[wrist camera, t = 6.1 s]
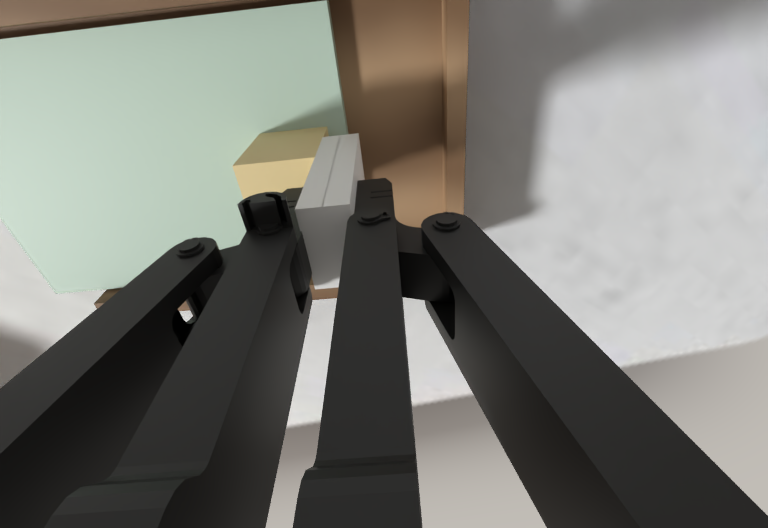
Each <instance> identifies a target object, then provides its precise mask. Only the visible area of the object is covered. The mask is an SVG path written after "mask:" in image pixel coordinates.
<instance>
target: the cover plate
mask: <svg viewBox="0 0 768 528" xmlns="http://www.w3.org/2000/svg"><path fill="white" fill-rule="evenodd" d="M347 134H348V127H347V120H346V114H345V107H344V100H343V93H342V86H341V80H340V73H339V66H338V59H337V53H336V46H335V39H334V32H333V25H332V19H331V12H330V5H329V0H325V1H316V2H308V3H300V4H291V5H283V6H274V7H266V8H258V9H249V10H241V11H232V12H224V13H216V14H207V15H199V16H190V17H182V18H174V19H165V20H157V21H148V22H140V23H132V24H123V25H115V26H106V27H98V28H90V29H81V30H73V31H64V32H56V33H48V34H39V35H31V36H23V37H14V38H6V39H0V219H1V220H2V222H3V223H4V224H5V226H6V227H7V229H8V230H9V231H10V233H11V234H12V235H13V237H14V238H15V239H16V241H17V242H18V243H19V245H20V246H21V247H22V249H23V250H24V251H25V253H26V254H27V256H28V257H29V258H30V260H31V261H32V262H33V264H34V265H35V266H36V268H37V269H38V270H39V272H40V273H41V274H42V276H43V277H44V278H45V280H46V281H47V283H48V284H49V285H50V287H51V288H52V289H53V291H54V292H55V293H56V294H61V293H71V292H82V291H93V290H104V289H114V288H123V287H124V286H126V285H127V284H128V283H129V282H130V281H132V280H133V279H134V278H135V277H137V276H138V275H139V274H140V273H141V272H143V271H144V270H145V269H146V268H147V267H149V266H150V265H151V264H152V263H154V262H155V261H156V260H157V259H158V258H160V257H161V256H162V255H163V254H164V253H166V252H167V251H168V250H169V249H171V248H172V247H174V246H175V245H177V244H179V243H181V242H183V241H184V240H187V239H192V238H195V237H198V238H200V237H207V238H212V239H214V240H215V241H216V243H217V245H218V248H219V250H221V249H225V248H229V247H232V246H236V245H239V244H240V242H241V240H242V239H243V237H244V235H245V233H246V229H245V226H244V223H243V220H242V217H241V214H240V211H239V208H238V205H237V204H238V203H239V202H240V201H242V200H243V199H245V198H247V197H249V196H252V195H255V194H258V193H264V192H279V193H282V192H284V191H285V190H286V189H290V188H300V187H304V184H305V181H306V179H307V176H308V174H309V171H310V168H311V166H312V163H313V161H314V158H315V155H316V153H317V150H318V148H319V145H320V142H321V140H322V137H328V136H337V135H347Z"/></svg>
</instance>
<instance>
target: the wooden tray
mask: <svg viewBox="0 0 768 528" xmlns="http://www.w3.org/2000/svg"><path fill="white" fill-rule="evenodd" d="M316 1H325V0H0V39H6V38H14V37H23V36H31V35H39V34H48V33H56V32H64V31H73V30H81V29H90V28H98V27H106V26H115V25H123V24H132V23H140V22H148V21H157V20H165V19H174V18H182V17H190V16H199V15H207V14H216V13H224V12H232V11H241V10H249V9H258V8H266V7H274V6H283V5H291V4H300V3H308V2H316ZM469 1H470V0H329V5H330V12H331V19H332V25H333V32H334V39H335V46H336V53H337V59H338V66H339V73H340V80H341V86H342V93H343V100H344V107H345V114H346V120H347V127H348V134H356V133H359V140H360V148H361V155H362V163H363V170H364V178H365V180H368V179H378V178H386V179H388V180H389V181H390V182H391V183H392V189H393V199H394V210H395V217H396V219H397V220H398V222H400V223H402V224H404V225H407V226H411V227H419V228H421V224H422V222H423V220H424V219H426V218H427V217H429V216H431V215H434V214H437V213H443V212H450V213H451V212H455V213H458V214H462V215H464V181H465V145H466V109H467V73H468V37H469ZM309 286H310V289H311V293H312V300H318V299H329V298H337V295H338V288H339V287H337V288H326V289H315V287H314V284H313V280H312V276H311V280H310V284H309ZM121 289H122V288H114V289H107V290H106V291H105V292H104V293H103V294H102V296H101V297H100V298H99V299H98V300H97V301H96V302H95V303H94V305H95V306H96V308H97V309H98V308H99V307H100V306H101V305H103V304H104V303H105V302H106V301H107V300H109V299H110V298H111V297H112V296H113V295H115V294H116V293H117V292H118V291H120V290H121ZM178 310H179V311H186V310H190V309H189V307H188V305H187V303H186V301H185V302H184V303H183V304H182V305H181V306H180V307H179V308H178Z"/></svg>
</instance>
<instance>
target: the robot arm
mask: <svg viewBox="0 0 768 528" xmlns="http://www.w3.org/2000/svg"><path fill="white" fill-rule="evenodd" d="M237 205H238V208H239V211H240V214H241V217H242V220H243V223H244V226H245V229H246V233H245V235H244V237H243V239H242V240H241V242H240V244H239V245H236V246H232V247H229V248H225V249H221V250H219V248H218V245H217V243H216V241H215V240H214V239H212V238H207V237H200V238H198V237H195V238H192V239H187V240H184V241H183V242H181V243H179V244H177V245H175V246H174V247H172V248H171V249H169V250H168V251H167V252H166V253H164V254H163V255H162V256H161V257H160V258H158V259H157V260H156V261H155V262H154V263H152V264H151V265H150V266H149V267H147V268H146V269H145V270H144V271H143V272H141V273H140V274H139V275H138V276H137V277H135V278H134V279H133V280H132V281H130V282H129V283H128V284H127V285H126V286H124V287H123V288H122V289H121V290H120V291H118V292H117V293H116V294H115V295H113V296H112V297H111V298H110V299H109V300H107V301H106V302H105V303H104V304H103V305H101V306H100V307H99V308H98V309H96V310H95V311H94V312H93V313H92V314H90V315H89V316H88V317H87V318H86V319H84V320H83V321H82V322H81V323H79V324H78V325H77V326H76V327H75V328H73V329H72V330H71V331H70V332H69V333H67V334H66V335H65V336H64V337H62V338H61V339H60V340H59V341H58V342H56V343H55V344H54V345H53V346H52V347H50V348H49V349H48V350H47V351H45V352H44V353H43V354H42V355H41V356H39V357H38V358H37V359H36V360H35V361H33V362H32V363H31V364H30V365H28V366H27V367H26V368H25V369H24V370H22V371H21V372H20V373H19V374H18V375H16V376H15V377H14V378H13V379H11V380H10V381H9V382H8V383H7V384H5V385H4V386H3V387H2V388H1V389H0V528H265V527H266V522H267V517H268V512H269V507H270V503H271V498H272V493H273V488H274V483H275V478H276V473H277V469H278V464H279V459H280V454H281V449H282V445H283V440H284V435H285V430H286V425H287V421H288V416H289V411H290V406H291V401H292V396H293V392H294V387H295V382H296V377H297V372H298V367H299V363H300V358H301V353H302V348H303V343H304V338H305V334H306V329H307V324H308V319H309V314H310V309H311V305H312V293H311V289H310V286H309V284H310V280H311V276H312V280H313V284H314V287H315V289H326V288H337V287H339V288H338V295H337V303H336V311H335V318H334V326H333V334H332V341H331V349H330V356H329V364H328V372H327V379H326V387H325V395H324V402H323V410H322V417H321V425H320V433H319V440H318V448H317V455H316V460H315V463H314V466H313V467H311V468H309V469H307V470H306V471H305V473H304V476H303V478H302V480H301V485H300V489H299V494H298V498H297V504H296V511H295V517H294V523H293V528H422V517H421V506H420V494H419V483H418V472H417V460H416V449H415V437H414V426H413V414H412V403H411V391H410V380H409V368H408V357H407V345H406V334H405V322H404V310H403V299H402V297H406V298H413V299H420V300H425V305H426V308H427V310H428V312H429V314H430V316H431V318H432V319H433V321H434V323H435V325H436V327H437V328H438V330H439V332H440V334H441V336H442V338H443V339H444V341H445V343H446V345H447V347H448V349H449V350H450V352H451V354H452V356H453V358H454V359H455V361H456V363H457V365H458V367H459V369H460V370H461V372H462V374H463V376H464V378H465V379H466V381H467V383H468V385H469V387H470V389H471V390H472V392H473V394H474V396H475V398H476V399H477V401H478V403H479V405H480V407H481V408H482V410H483V412H484V414H485V416H486V418H487V419H488V421H489V423H490V425H491V427H492V429H493V430H494V432H495V434H496V436H497V437H498V439H499V441H500V443H501V445H502V446H503V448H504V450H505V452H506V454H507V456H508V458H509V459H510V461H511V463H512V465H513V467H514V469H515V470H516V472H517V474H518V476H519V478H520V480H521V481H522V483H523V485H524V487H525V489H526V490H527V492H528V494H529V496H530V498H531V500H532V501H533V503H534V505H535V507H536V508H537V510H538V512H539V514H540V516H541V517H542V519H543V521H544V523H545V525H546V527H547V528H768V516H767V515H766V514H765V513H764V512H763V511H762V510H761V509H760V508H759V507H758V506H757V505H756V504H755V503H754V502H753V501H752V500H751V499H750V498H749V497H748V496H747V495H746V494H745V493H744V492H743V491H742V490H741V489H740V488H739V487H738V486H737V485H736V484H735V483H734V482H733V481H732V480H731V479H730V478H729V477H728V476H727V475H726V474H725V473H724V472H723V471H722V470H721V469H720V468H719V467H718V466H717V465H716V464H715V463H714V462H713V461H712V460H711V459H710V458H709V457H708V456H707V455H706V454H705V453H704V452H703V451H702V450H701V449H700V448H699V447H698V446H697V445H696V444H695V443H694V442H693V441H692V440H691V439H690V438H689V437H688V436H687V435H686V434H685V433H684V432H683V431H682V430H681V429H680V428H679V427H678V426H677V425H676V424H675V423H674V422H673V421H672V420H671V419H670V418H669V417H668V416H667V415H666V414H665V413H664V412H663V411H662V410H661V409H660V408H659V407H658V406H657V405H656V404H655V403H654V402H653V401H652V400H651V399H650V398H649V397H648V396H647V395H646V394H645V393H644V392H643V391H642V390H641V389H640V388H639V387H638V386H637V385H636V384H635V383H634V382H633V381H632V380H631V379H630V378H629V377H628V376H627V375H626V374H625V373H624V372H623V371H622V370H621V369H620V368H619V367H618V366H617V365H616V364H615V363H614V362H613V361H612V360H611V359H610V358H609V357H608V356H607V355H606V354H605V353H604V352H603V351H602V350H601V349H600V348H599V347H598V346H597V345H596V344H595V343H594V342H593V341H592V340H591V339H590V338H589V337H588V336H587V335H586V334H585V333H584V332H583V331H582V330H581V329H580V328H579V327H578V326H577V325H576V324H575V323H574V322H573V321H572V320H571V319H570V318H569V317H568V316H567V315H566V314H565V313H564V312H563V311H562V310H561V309H560V308H559V307H558V306H557V305H556V304H555V303H554V302H553V301H552V300H551V299H550V298H549V297H548V296H547V295H546V294H545V293H544V292H543V291H542V290H541V289H540V288H539V287H538V286H537V285H536V284H535V283H534V282H533V281H532V280H531V279H530V278H529V277H528V276H527V275H526V274H525V273H524V272H523V271H522V270H521V269H520V268H519V267H518V266H517V265H516V264H515V263H514V262H513V261H512V260H511V259H510V258H509V257H508V256H507V255H506V254H505V253H504V252H503V251H502V250H501V249H500V248H499V247H498V246H497V245H496V244H495V243H494V242H493V241H492V240H491V239H490V238H489V237H488V236H487V235H486V234H485V233H484V232H483V231H482V230H481V229H480V228H479V227H478V226H477V225H476V224H475V223H474V222H473V221H472V220H471V219H470V218H468V217H467V216H465V215H462V214H458V213H455V212H451V213H450V212H443V213H437V214H434V215H431V216H429V217H427V218H426V219H424V220H423V222H422V224H421V228H419V227H411V226H407V225H404V224H402V223H400V222H398V220H397V219H396V217H395V210H394V199H393V189H392V183H391V182H390V181H389V180H388V179H386V178H378V179H368V180H365V178H364V170H363V163H362V155H361V148H360V140H359V133H356V134H347V135H337V136H328V137H322V140H321V142H320V145H319V148H318V150H317V153H316V155H315V158H314V161H313V163H312V166H311V168H310V171H309V174H308V176H307V179H306V181H305V184H304V187H300V188H290V189H286V190H285V191H284V192H282V193H279V192H264V193H258V194H255V195H252V196H249V197H247V198H245V199H243V200H242V201H240V202H239V203H238V204H237ZM185 301H186V303H187V305H188V307H189V309H190V311H191V313H192V315H193V317H192V318H191V319H190V320H189V321H187V322H185V321H184V320H183V318H182V316H181V314H180V312H179V310H178V308H179V307H180V306H181V305H182V304H183V303H184V302H185Z"/></svg>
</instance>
